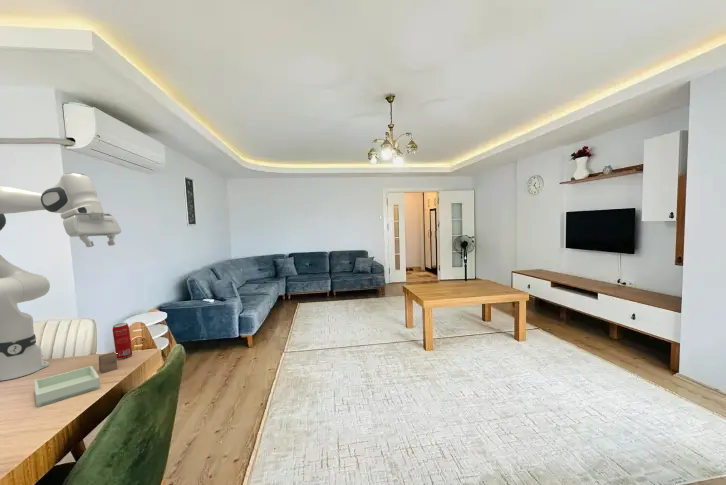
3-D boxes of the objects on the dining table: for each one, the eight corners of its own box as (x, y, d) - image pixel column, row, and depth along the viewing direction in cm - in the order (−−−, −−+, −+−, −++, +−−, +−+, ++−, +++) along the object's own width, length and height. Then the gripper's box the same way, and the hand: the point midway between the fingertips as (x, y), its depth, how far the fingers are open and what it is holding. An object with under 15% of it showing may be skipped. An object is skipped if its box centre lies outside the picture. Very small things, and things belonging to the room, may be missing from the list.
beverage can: (135, 354, 143) (133, 322, 142) (123, 360, 136) (121, 326, 136) (123, 354, 144) (121, 321, 143) (110, 360, 137) (108, 326, 137)
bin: (34, 391, 111) (33, 380, 110) (92, 375, 122) (91, 365, 122) (36, 407, 100) (36, 395, 100) (99, 388, 112) (99, 377, 112)
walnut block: (99, 370, 127) (98, 355, 127) (114, 366, 131) (114, 351, 131) (101, 373, 124) (100, 358, 124) (117, 369, 128) (116, 354, 127)
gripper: (105, 216, 134) (117, 246, 134) (55, 214, 113) (69, 250, 114) (118, 211, 133) (130, 241, 134) (70, 208, 113) (84, 244, 113)
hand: (101, 245), depth 123 cm, fingers open, 8 cm apart
